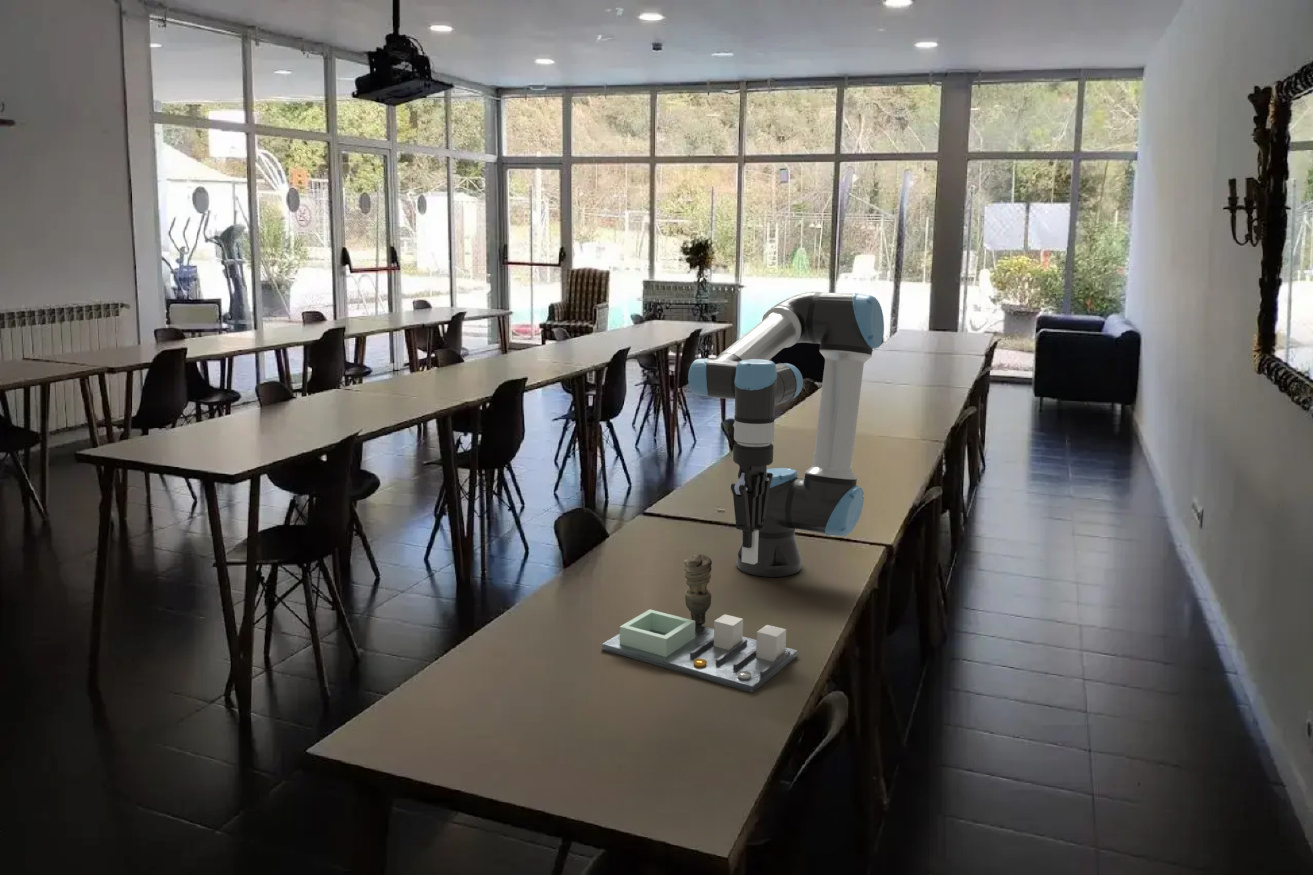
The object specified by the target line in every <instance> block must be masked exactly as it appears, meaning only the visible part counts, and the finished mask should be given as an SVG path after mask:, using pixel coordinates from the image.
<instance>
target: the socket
mask: <svg viewBox="0 0 1313 875" xmlns="http://www.w3.org/2000/svg"><path fill="white" fill-rule="evenodd" d="M651 629H652V630H656V631H660V632H663V633H667V634H666V635H661V634H657V633H653V632H649V631H650V630H651ZM619 634H620V644H622V645H625V646H629V647H632V648H636V649H640V650H643V651H647V652H650V653H654V654H657V655H661V656H665V657H667V656H668V655H670V654H671V653H673V652H674V651H676V650H677V649H679V648H680V647H682V646H684V645H685V644H687V643H688V642H690V641H691V640H693V639H694V638H695V621H694V620H692V619H689V618H686V617H682V616H678V615H674V614H670V613H665V612H662V611H657V610H654V609H647V610H646V611H644V612H643V613H641V614H639V615H638V616H635V617H633V618H632V619H630V620H628V621H627V622H625V623H624V624H621V625H620V626H619Z"/></svg>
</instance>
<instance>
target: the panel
mask: <svg viewBox="0 0 1313 875" xmlns="http://www.w3.org/2000/svg"><path fill="white" fill-rule="evenodd" d="M649 632H653V633H657V634H661V635H666V634H667V633H663V632H660V631H656V630H652V629H651V630H650V631H649ZM756 647H757V639H754V638H749V637H746V636H743V640H742V641H741V642H740V643H738V644H737V645H735V646H734V647H733V648H731V649H730V650H727V649H724V648H720V647H716V646H714V628H712V627H707V626H704V625H702V626H700V625H696V624H695V638H694V639H693V640H691V641H690V642H688V643H687V644H685V645H684V646H682V647H680V648H679V649H677V650H676V651H674V652H673V653H671V654H670V655H668V656H667V657H665V656H661V655H657V654H654V653H650V652H647V651H643V650H640V649H636V648H632V647H629V646H625V645H622V644H620V633H618V634H616V635H615V636H613V637H612V638H610V639H608V640H605V641H603V643H602V644H601V650H603V651H606V652H609V653H611V654H612V653H613V654H616V655H619V656H622V657H626V658H630V659H634V660H637V661H641V662H643V663H648V664H651V665H655V666H657V667H661V668H664V669H668V670H672V671H675V672H678V673H682V674H686V675H688V676H692V677H696V678H699V679H702V680H706V681H710V682H714V683H718V684H721V685H724V686H727V687H731V688H734V689H738V690H741V691H745V692H748V693H752V694H753V693H754V692H755V691H757V689H759V688H760V687H761V686H762V685H764V684H765V683H766V682H767V681H768V680H770V679H772V678H773V677H774V676H775V675H777V674H778V672H780V671H781V670H782V669H784V668H785V667H786V666H787V665H788V664H790V663H791V662H792V661H793V660H794V659H796V658H797V657H798V650H797V649H793V648H789V647H786V652H785V653H783V654H782V655H781V656H780V657H778V658H777V659H776V660H775V661H769V660H765V659H761V658H757V657H756Z"/></svg>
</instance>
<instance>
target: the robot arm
mask: <svg viewBox="0 0 1313 875" xmlns="http://www.w3.org/2000/svg"><path fill="white" fill-rule="evenodd" d="M884 319H885V318H884V314H883V310H882V306H881V303H880V301H879V300H878V298H876V297H875V296H873V295H870V294H869V295H868V294H863V293H853V292H852V293H849V292H848V293H846V292H825V291H823V292H820V291H810V292H808V291H807V292H803V293H800V294H796V295H794V296H792V297H789V298H786V299H783V301H781V302H779V303H777V304H776V305H773V306H772V307H771V308H770V309H768V310H767V311H766V312H765V314H763V316H762V320H761V321H760V322H759V323H757V324H756V325H755V326H754V327H753V328H752V329H750V330H749V331H748V332H746V333H745V334H744V335H742V337H740V338H738V340H737V341H735V342H733V343H732V344H731V345H729V347H728V348H726V349H725V350H723V351H722V352H721V353H720V354H718V355H717V356H716V357H714V358H712V359H711V358H708V357H707V358H697V359H695V360H694V361H692V363H691V365H690V367H689V370H688V378H687V380H688V387H689V390H690V391H691V392H692V393H693V394H694V395H696V396H701V397H702V396H703V397H706V398H710V399H711V398H714V399H715V398H716V399H725V400H726V399H727V400H728V399H729V400H734V415H733V416H734V423H733V424H732V427H733V429H734V430H733V440H734V441H735V442H734V443H733V445H732V446H733V449H732V451H733V452H732V455H733V456H732V461H733V462H734V463H735V464H737V465H738V466H739V467H738V468H739V469H738V473H737V481H736V483H731V485H730V490H731V494H732V496H733V507H734V508H733V509H734V517H735V518H734V519H735V528H736V530H738V531H739V530H740V531H742V532H741V533H742V534H741V537H742V538H741V544H740V546H739V549H738V551H737V555H736V568H737V569H739V570H740V571H741V572H743V573H746V574H749V575H752V576H757V577H767V578H768V577H769V578H774V577H775V578H779V577H781V578H782V577H788V576H791V575H794V574H797V573H799V572H800V571H801V569H802V557H801V554H800V549H799V546H798V543H797V542H798V541H797V538H796V530H799V531H805V532H809V533H811V532H812V533H817V534H821V535H822V534H824V535H826V536H827V537H828V536H835V537H846V536H848V535H850V534H851V533H852V532H853V531H854V530H855V528H856V526H857V525H858V523H859V520H860V518H861V515H862V511H863V509H864V502H865V501H864V500H865V497H864V494H865V493H864V490H863V488H862V487H860V486H859V485H857V483H858V481H857V480H858V476H856V474H855V473H854V472H853V470H852V467H853V460H854V459H853V457H854V451H855V441H856V432H857V424H858V415H859V409H860V408H859V405H860V399H861V388H862V381H863V374H864V373H863V372H864V366H865V365H864V364H865V363H866V362H867V361H868V360H870V359H871V358H872V356H873V349H878V348H880V347H881V346H882V343H883V339H884V335H885V322H884V321H885V320H884ZM801 343H803V344H804V343H807V344H817V345H819V353H820V354H821V355H822V356H823V358H824V367H823V368H824V369H823V375H822V383H821V384H822V385H821V391H820V392H821V393H820V401H819V410H818V419H817V426H816V427H817V428H816V436H815V444H814V445H815V446H814V453H813V460H812V462H813V463H812V465H811V466H810V467H809V468H808V469H807V470H805V472H804V478H799V473H798V471H797V470H796V469H794V468H788V467H776V468H767V467H768V466H770V465H771V464H772V463H773V462H774V445H773V444H772V443H773V442H774V441H775V415H776V414H775V412H776V406H778V405H781V404H785V403H789V402H791V401H792V400H793V399H795V398H796V397H798V396H799V395H800V393H801V391H802V389H803V384H804V378H803V375H802V372H801V371H800V370H799V368H797V367H796V366H795V365H794V364H791V363H788V362H786V363H785V362H784V363H781V362H778V363H775V362H774V361H772V358H773V357H775V356H776V355H777V354H778V353H779V352H781V351H782V350H783V349H785V348H791V347H792V346H794V345H796V344H801Z"/></svg>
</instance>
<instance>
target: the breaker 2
mask: <svg viewBox="0 0 1313 875" xmlns="http://www.w3.org/2000/svg"><path fill="white" fill-rule="evenodd" d="M756 640H757V647H756V657H757V658H761V659H765V660H769V661H775V660H776V659H777V658H778V657H780V656H781V655H782V654H783V653H785V652H786V648H787V646H786V645H787V628H783V627H779V626H778V627H777V626H773V625H770V624H766V625H764V626H763V627H762V628H760V629H759V630H757V631H756Z"/></svg>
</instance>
